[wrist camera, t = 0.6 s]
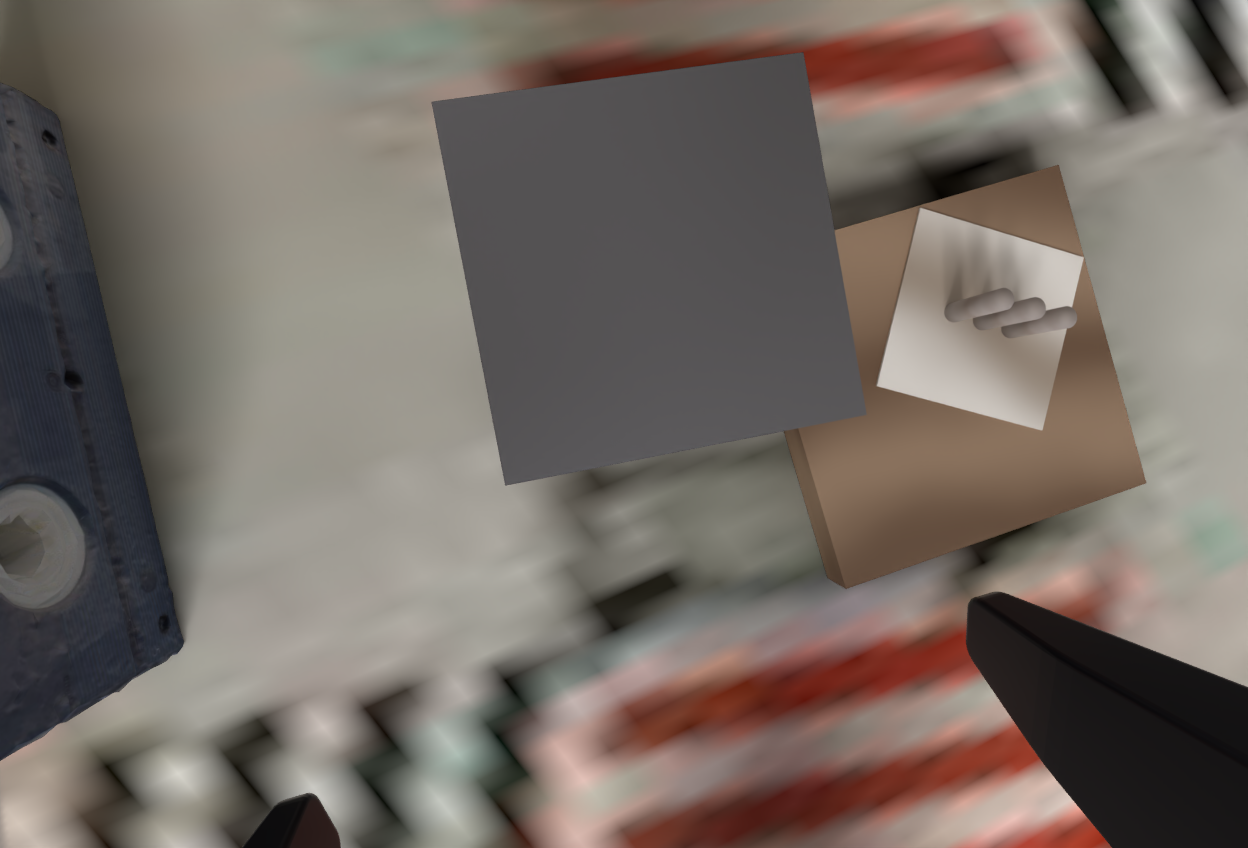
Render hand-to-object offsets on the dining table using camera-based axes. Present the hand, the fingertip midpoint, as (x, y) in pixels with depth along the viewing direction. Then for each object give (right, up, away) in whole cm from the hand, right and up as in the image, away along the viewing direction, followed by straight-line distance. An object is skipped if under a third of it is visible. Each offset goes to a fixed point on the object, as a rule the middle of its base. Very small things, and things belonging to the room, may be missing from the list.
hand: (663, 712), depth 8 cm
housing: (-1, +6, +14) cm, 16 cm away
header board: (+11, +6, +15) cm, 20 cm away
